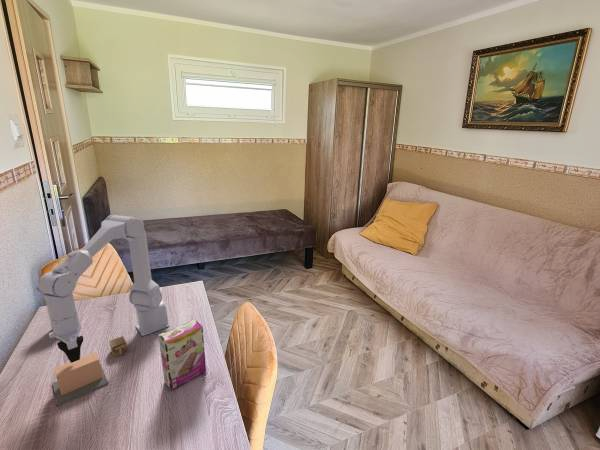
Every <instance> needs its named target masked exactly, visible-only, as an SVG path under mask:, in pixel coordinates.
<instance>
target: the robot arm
mask: <svg viewBox="0 0 600 450" xmlns="http://www.w3.org/2000/svg"><path fill="white" fill-rule="evenodd" d="M100 224H101V226H100V228H99V229H98V230H97V231H96V233H95V234H94V235H93V236H92V237H91V238H90V240H89V241H88V242H87V243H86V244H84V246H83V247H82V248H81V249H78V250H77V249H76V250H73V251H70V252H69V253H67V256H66V257H65V259H63V260H62V261H61V262H60V263H59V264H58V265H57V266H55V267H54V268H53V269H52V271H49V272H46V273H44V274H43V275H41V276H40V278H39V279H38V281H37V286H35V289H36V291H37V292H38V293H39V294H42V295H43V298H44V300H45V299H46V300H45V304H46V303H47V305H46V308H47V307H48V309H47V312H48V311H49V313H48V316H49V315H50V317H49V320H50V319H51V322H52V326H53V330H54V331H53V330H52V331H51V332H49V333H48V336H49V339H54V338H56V339H57V340H58V342H56V344H57V348H58V349H59V350H61V351H62V352H63V353H64V354H65V356H66V357H67V360H68V361H69V362H71V363H72V362H75V361H77V360H80V358H81V348H82V345H83V342H84V336H83V335H80V336H79V334H80V332H81V329H82V324H81V323H80V321H79V316H78V311H77V305H76V303H75V299H74V294H73V292H74V291H75V289H76V287H77V283H78V281H79V278H80V277H81V276H82V275H83V274H84V273H85V272H86V270H88V268H89V267H91V266H92V265H93V258H94V257H95V256H96V255H97V254H98V253H99V252H100V251H101V250H103V248H105V246H107V245H108V244H109V243H110V242H111V241H112V240H117V239H118V240H119V239H125V240H127V241H128V245H129V247H128V248H129V253H130V261H131V267H132V268H131V269H132V273H133V283H132V284H131V286H130V287H129V296H128V301H129V303H130V304H131V305H133V308H135V311H136V317H137V323H138V324H136V325H135V328H136V329H137V331H138V332H139V334H140V335H141V336H142V337H145V336H147V335H149V334H153V333H155V332H158V331H160V330H162V329H165V328H167V327H169V326H170V324H169V320H168V311H167V307H166V304H165V303H164V300H163V293H162V291H161V290H160V285H159V284H158V283H156V282H155V280H153V278H152V272H151V271H152V270H151V263H150V255H149V247H148V239H147V231H146V229H145V223H144V220H143V219H141V218H139V217H137V216H127V215H126V216H125V215H118V214H109V215H108V216H107V217H106V218H105V219H104V220H103V221H101V223H100ZM51 322H50V323H51ZM52 326H51V327H52Z"/></svg>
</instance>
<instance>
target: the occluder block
mask: <svg viewBox="0 0 600 450" xmlns="http://www.w3.org/2000/svg"><path fill="white" fill-rule="evenodd" d="M100 364H101V363H100V358H99V355H98V353H97V351H96V352H93V353H91V354H87V355H85V356H82V357H80V360H77V361H75V362H72V363H71V362H70V361H69V362H67V363H64V364H62V365H58V366H57V367H54V373H55V378H56V382H57V381H58V385H59V389H60V392H61V396H62V395H64V394H66V393H69V392H71V391H73V390H76V389H78V388H80V387H83V386H85V385H87V384H89V383H92V382H94V381H96V380H99V379H101V378H103V376H102V371H101V367H100Z"/></svg>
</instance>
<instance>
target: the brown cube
mask: <svg viewBox="0 0 600 450" xmlns="http://www.w3.org/2000/svg"><path fill="white" fill-rule="evenodd" d="M127 346H128V345H127V341H126V340H125V337H124V336H123V335H122V336H120V337H117V338H113V339H110V340H109V347H110V351H111V354H112V356H113V358H117V357H118V356H122V355H124V354H126V353H128V352H129V351H128V347H127Z"/></svg>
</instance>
